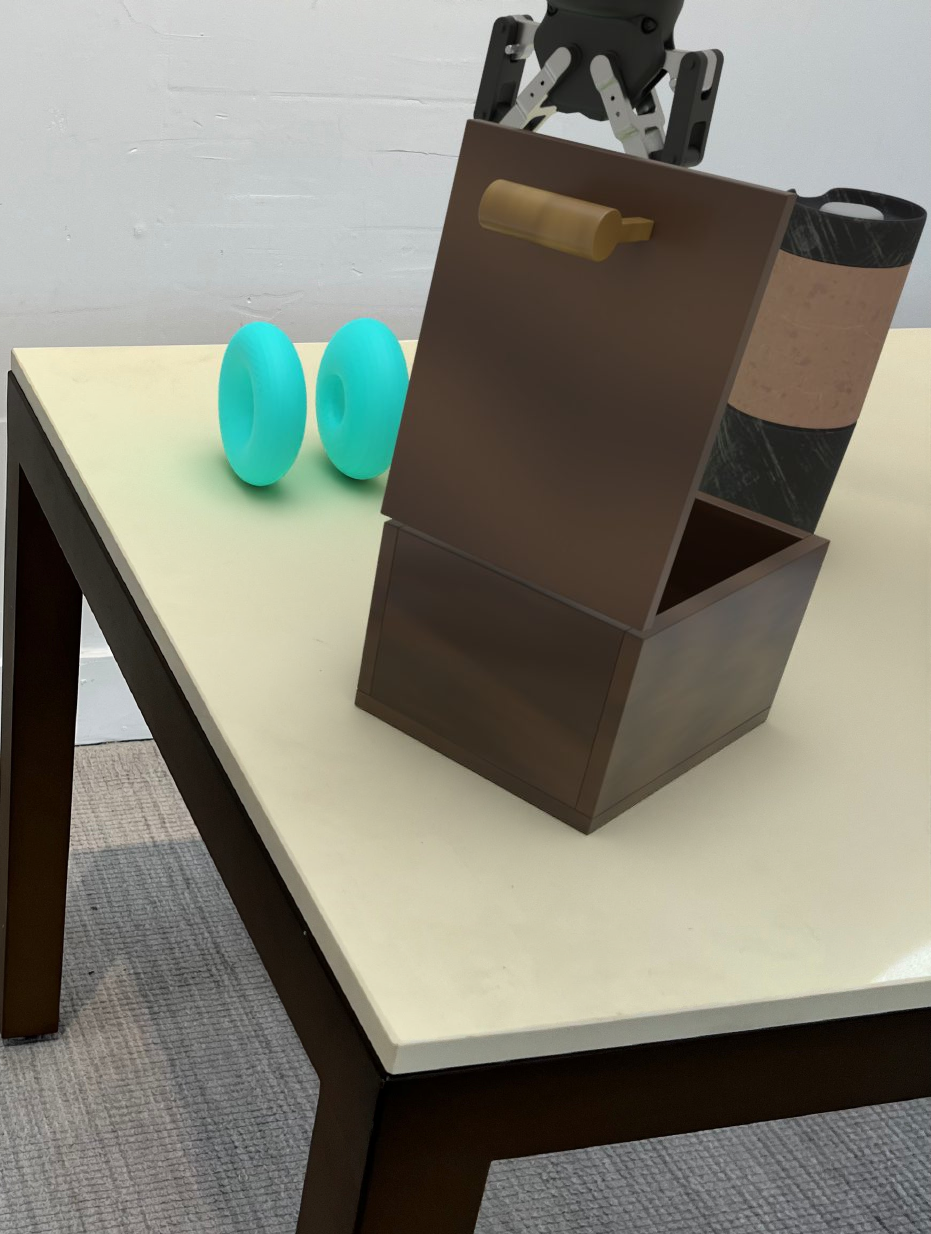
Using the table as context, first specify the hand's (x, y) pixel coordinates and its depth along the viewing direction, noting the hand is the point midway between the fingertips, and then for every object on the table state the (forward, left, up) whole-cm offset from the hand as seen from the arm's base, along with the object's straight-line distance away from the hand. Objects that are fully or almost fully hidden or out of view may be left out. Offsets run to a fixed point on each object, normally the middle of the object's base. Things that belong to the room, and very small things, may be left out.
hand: (564, 224), depth 89 cm
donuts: (+12, -8, -16) cm, 22 cm away
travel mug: (-4, +15, -16) cm, 23 cm away
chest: (+23, +20, -16) cm, 34 cm away
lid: (+30, +20, +3) cm, 36 cm away
